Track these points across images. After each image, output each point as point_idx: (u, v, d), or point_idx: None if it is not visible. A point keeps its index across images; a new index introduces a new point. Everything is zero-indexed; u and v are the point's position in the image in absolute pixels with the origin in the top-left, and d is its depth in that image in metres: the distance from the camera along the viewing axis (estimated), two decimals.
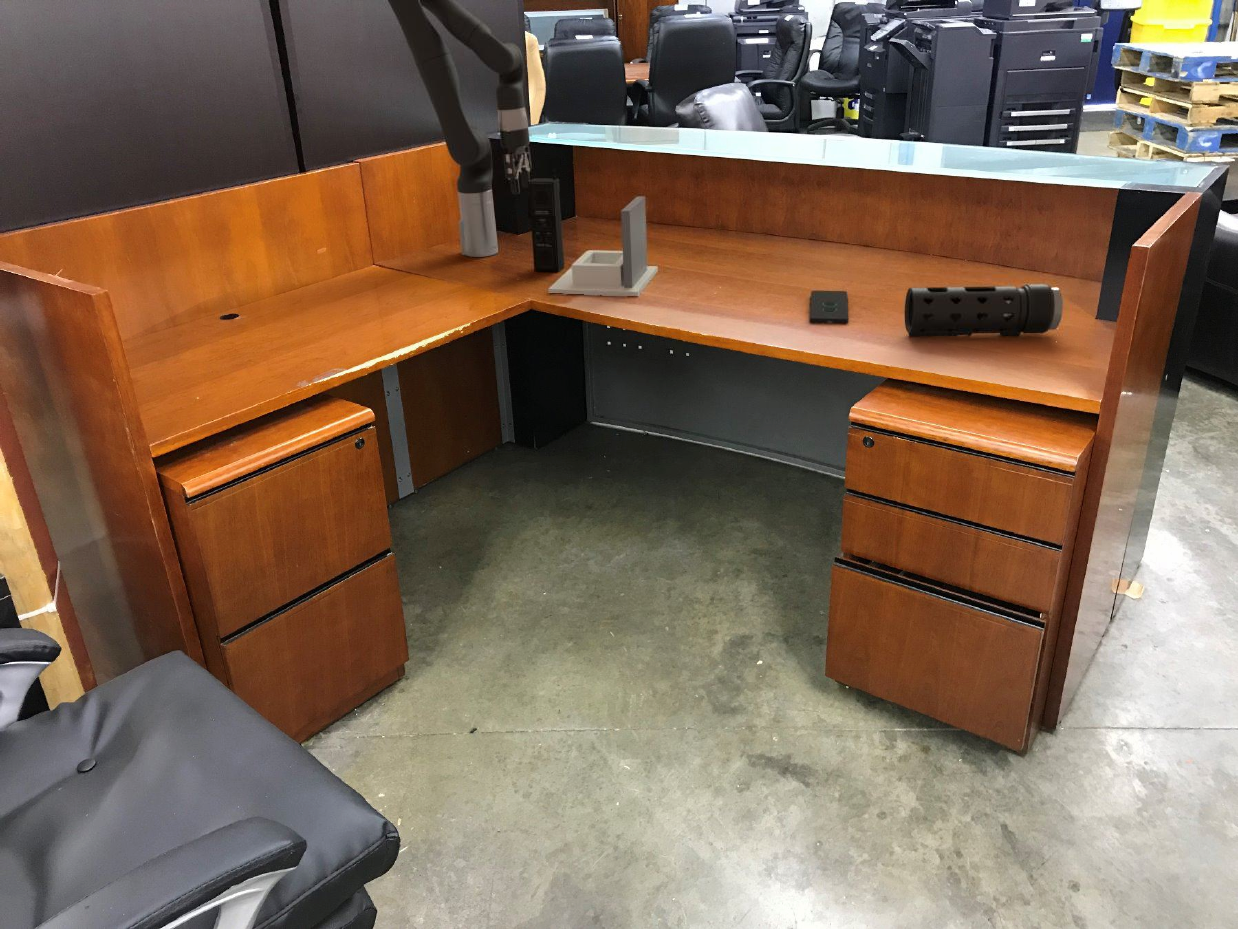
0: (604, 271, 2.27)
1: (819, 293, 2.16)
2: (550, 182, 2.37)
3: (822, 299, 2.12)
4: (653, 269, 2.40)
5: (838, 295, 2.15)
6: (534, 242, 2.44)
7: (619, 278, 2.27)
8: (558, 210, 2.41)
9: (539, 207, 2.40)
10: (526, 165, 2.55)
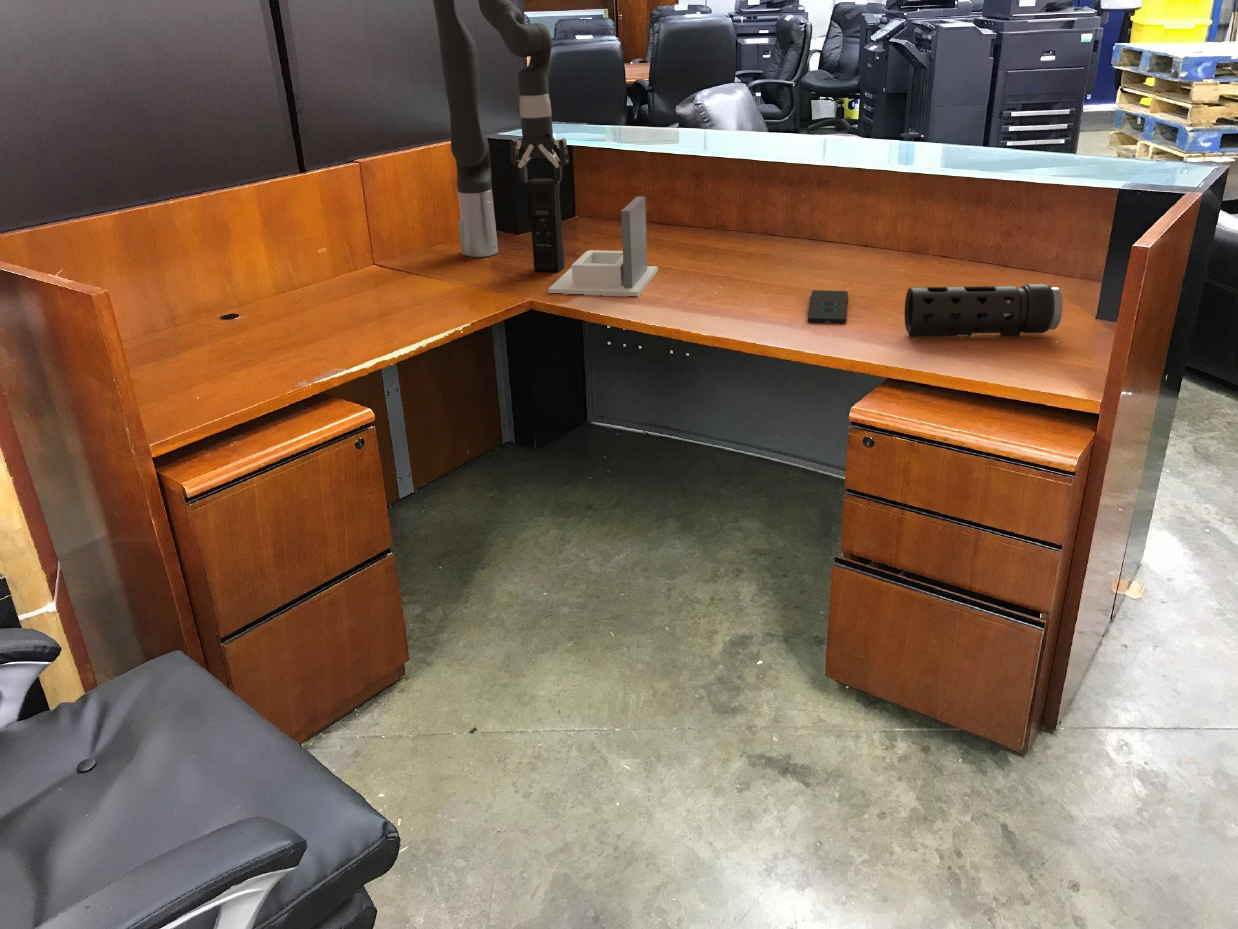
0: (604, 271, 2.27)
1: (819, 293, 2.17)
2: (550, 182, 2.37)
3: (822, 299, 2.13)
4: (653, 269, 2.40)
5: (838, 295, 2.15)
6: (534, 242, 2.44)
7: (619, 278, 2.27)
8: (558, 210, 2.41)
9: (539, 207, 2.40)
10: (530, 157, 2.38)
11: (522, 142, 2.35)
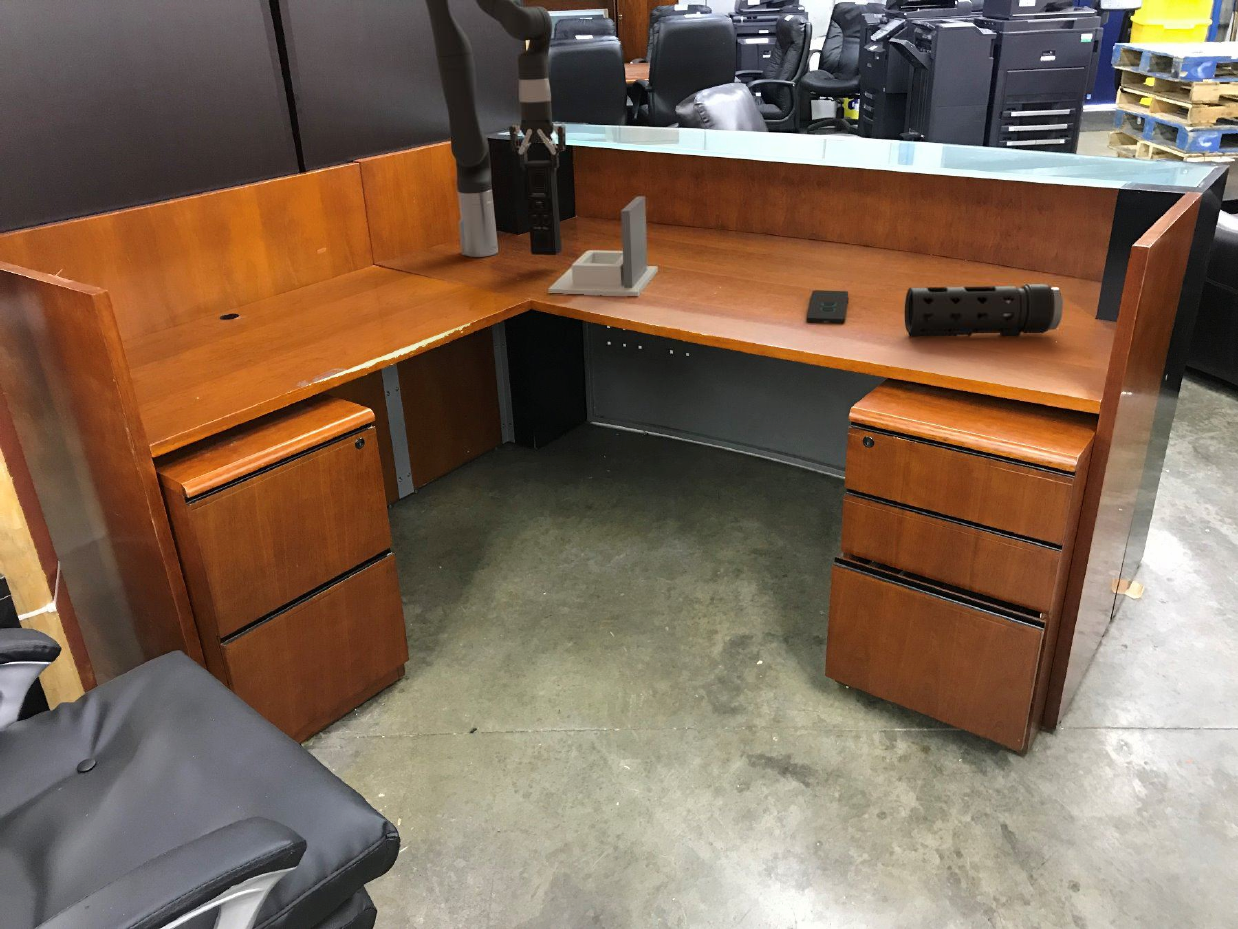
0: (604, 271, 2.27)
1: (820, 293, 2.17)
2: (547, 164, 2.35)
3: (822, 299, 2.13)
4: (653, 269, 2.40)
5: (838, 295, 2.15)
6: (531, 225, 2.42)
7: (619, 278, 2.27)
8: (555, 193, 2.40)
9: (535, 189, 2.38)
10: (530, 142, 2.36)
11: (521, 127, 2.33)
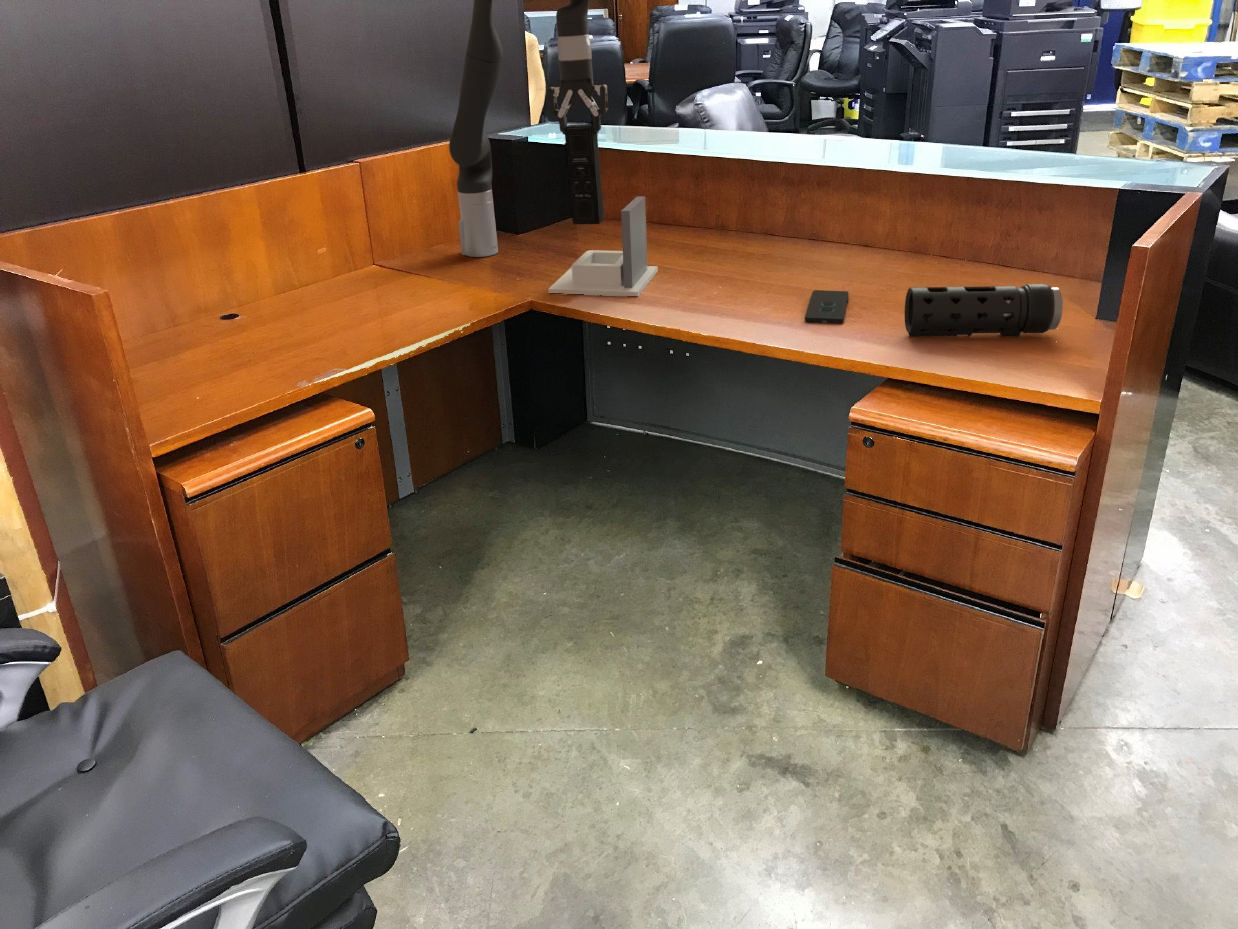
0: (604, 271, 2.27)
1: (820, 293, 2.17)
2: (588, 126, 2.22)
3: (822, 299, 2.13)
4: (653, 269, 2.40)
5: (838, 295, 2.15)
6: (572, 193, 2.29)
7: (619, 278, 2.27)
8: (597, 157, 2.27)
9: (576, 154, 2.25)
10: (569, 105, 2.24)
11: (560, 88, 2.20)
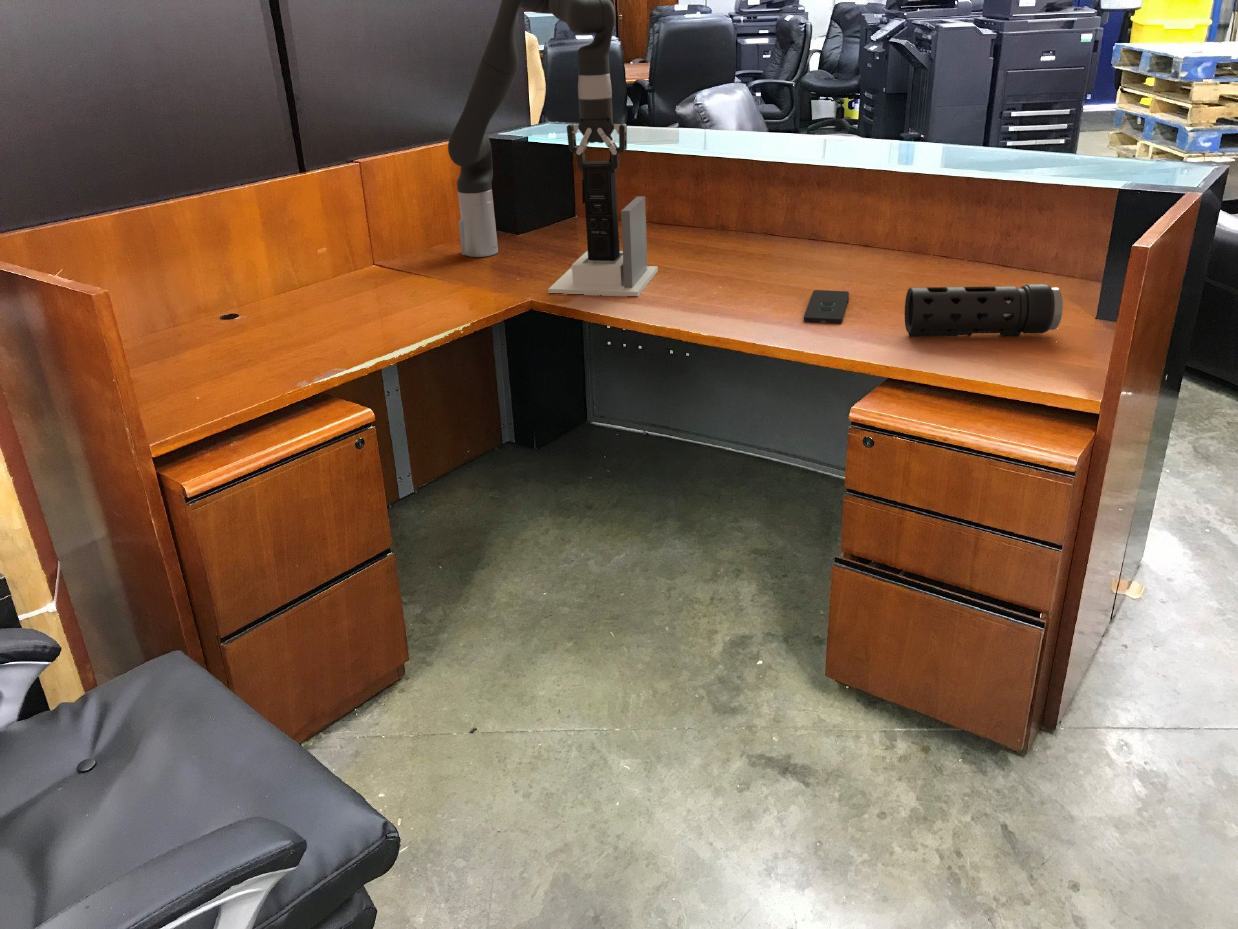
0: (604, 271, 2.27)
1: (820, 293, 2.17)
2: (607, 164, 2.21)
3: (822, 299, 2.13)
4: (653, 269, 2.40)
5: (838, 295, 2.15)
6: (588, 229, 2.29)
7: (619, 278, 2.27)
8: (614, 195, 2.26)
9: (594, 191, 2.25)
10: (588, 142, 2.23)
11: (579, 126, 2.20)
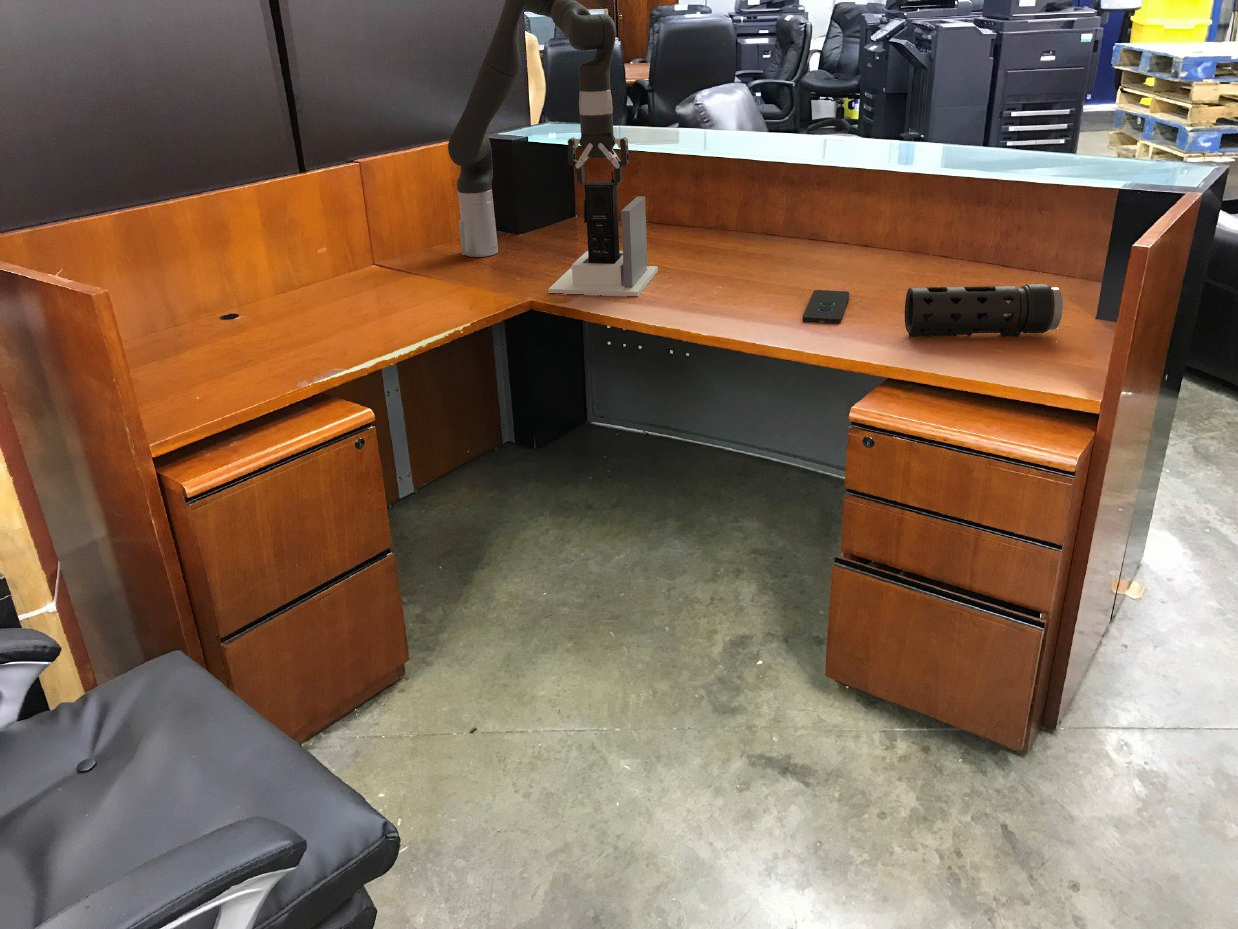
0: (604, 271, 2.27)
1: (821, 293, 2.17)
2: (609, 185, 2.23)
3: (822, 299, 2.13)
4: (653, 269, 2.40)
5: (839, 295, 2.15)
6: (590, 248, 2.31)
7: (619, 278, 2.27)
8: (616, 215, 2.28)
9: (596, 211, 2.27)
10: None
11: (580, 141, 2.21)
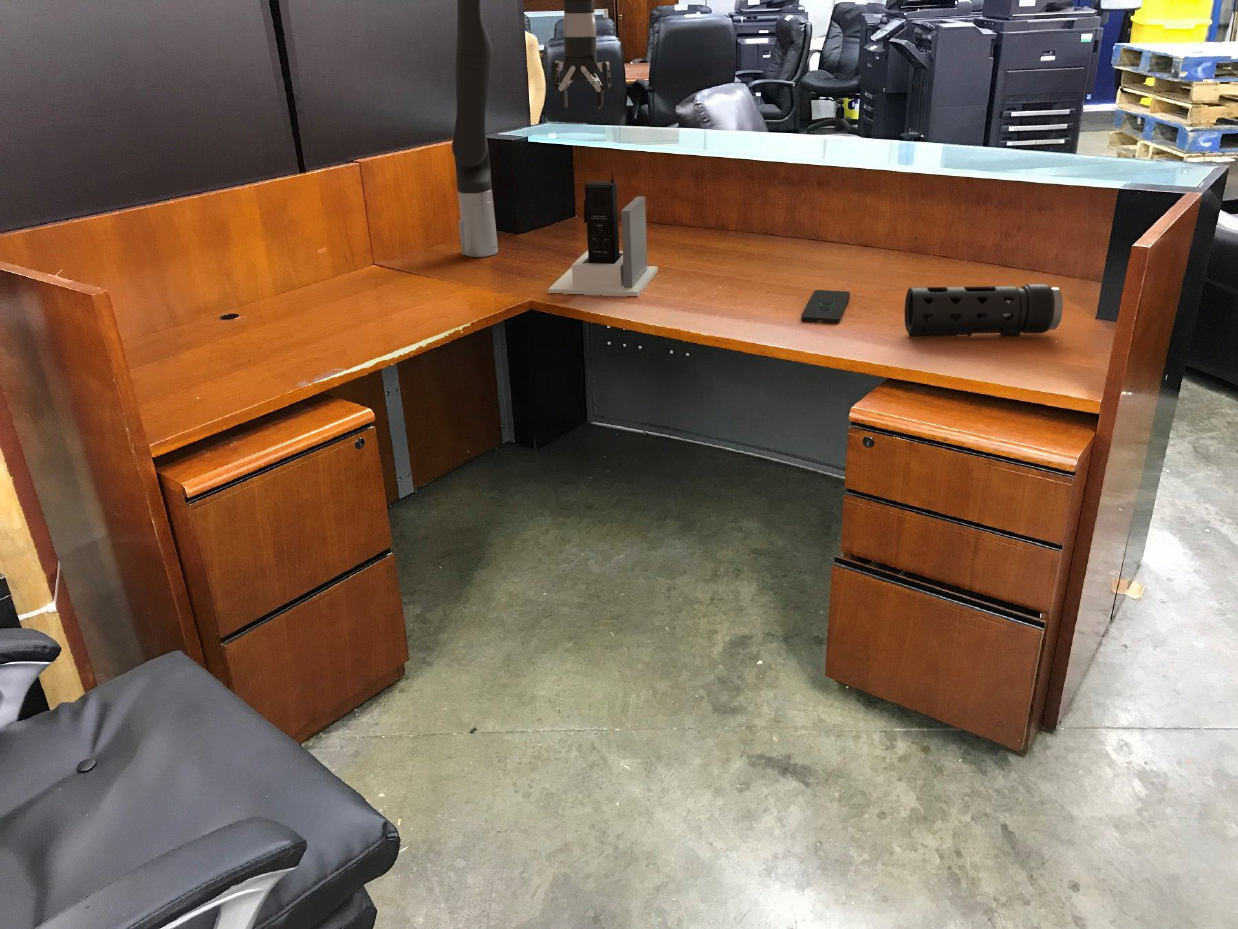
0: (604, 271, 2.27)
1: (821, 293, 2.17)
2: (609, 185, 2.23)
3: (821, 299, 2.13)
4: (653, 269, 2.40)
5: (839, 295, 2.15)
6: (590, 249, 2.31)
7: (619, 278, 2.27)
8: (616, 215, 2.28)
9: (596, 211, 2.27)
10: (571, 80, 2.30)
11: (564, 63, 2.27)
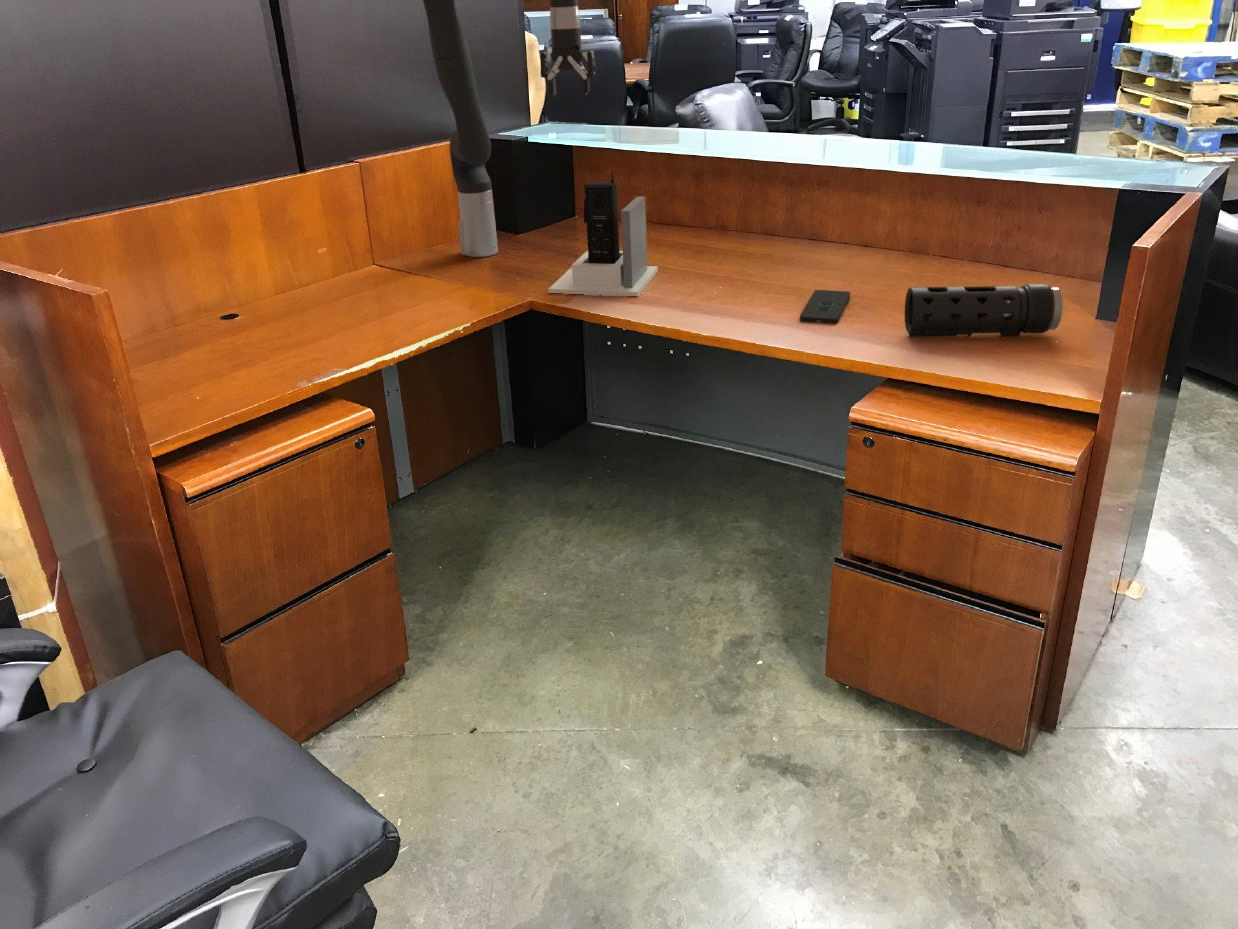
0: (604, 271, 2.27)
1: (821, 293, 2.17)
2: (609, 185, 2.23)
3: (821, 299, 2.13)
4: (653, 269, 2.40)
5: (839, 295, 2.15)
6: (590, 249, 2.31)
7: (619, 278, 2.27)
8: (616, 215, 2.28)
9: (596, 211, 2.27)
10: None
11: (552, 54, 2.45)
